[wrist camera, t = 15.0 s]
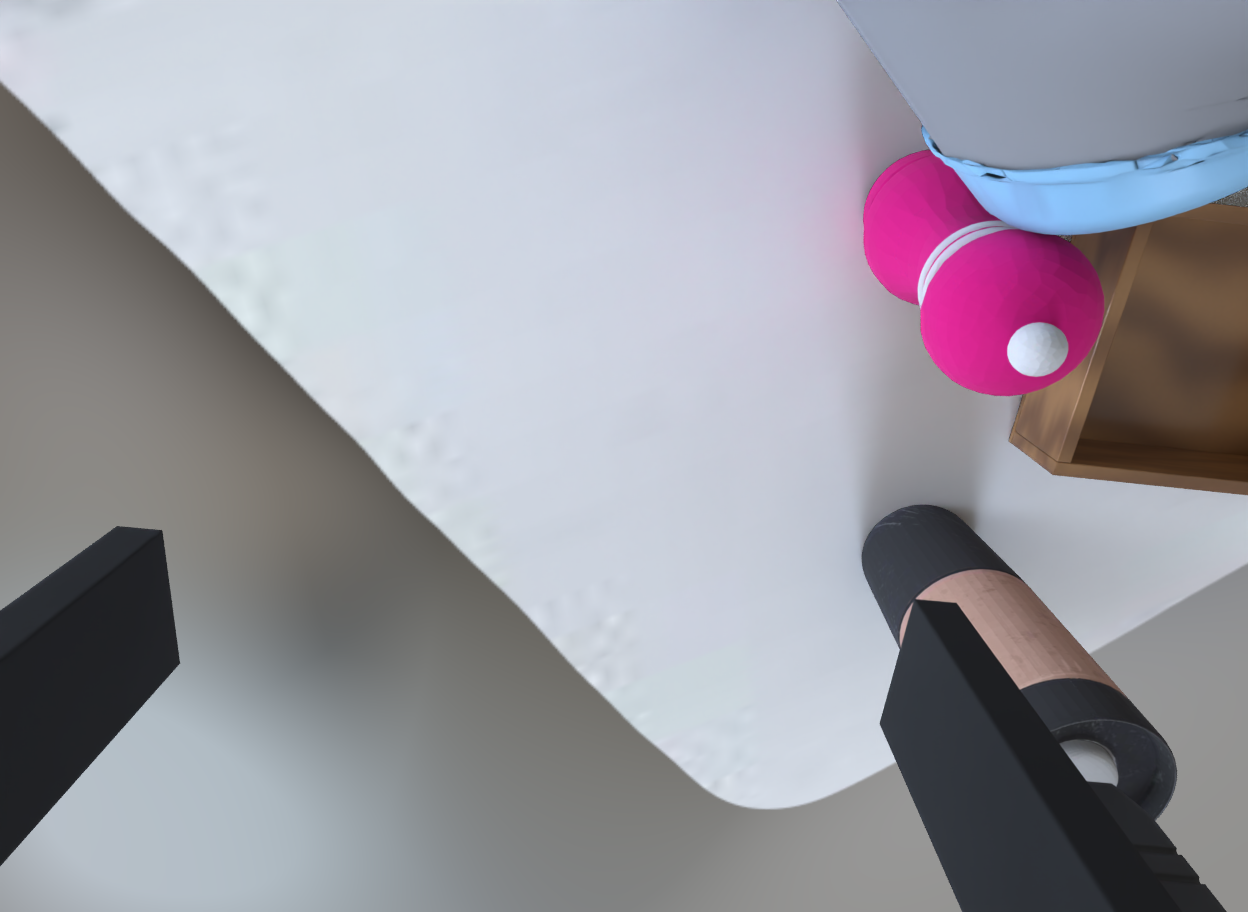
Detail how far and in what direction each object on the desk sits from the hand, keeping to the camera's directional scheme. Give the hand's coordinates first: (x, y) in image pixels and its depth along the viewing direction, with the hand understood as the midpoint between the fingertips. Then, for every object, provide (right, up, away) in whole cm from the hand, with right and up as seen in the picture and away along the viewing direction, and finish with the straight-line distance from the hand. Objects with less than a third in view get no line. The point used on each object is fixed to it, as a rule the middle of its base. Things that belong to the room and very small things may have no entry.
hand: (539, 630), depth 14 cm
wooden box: (+34, +10, +31) cm, 47 cm away
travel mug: (+20, -3, +36) cm, 42 cm away
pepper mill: (+18, +16, +28) cm, 37 cm away
